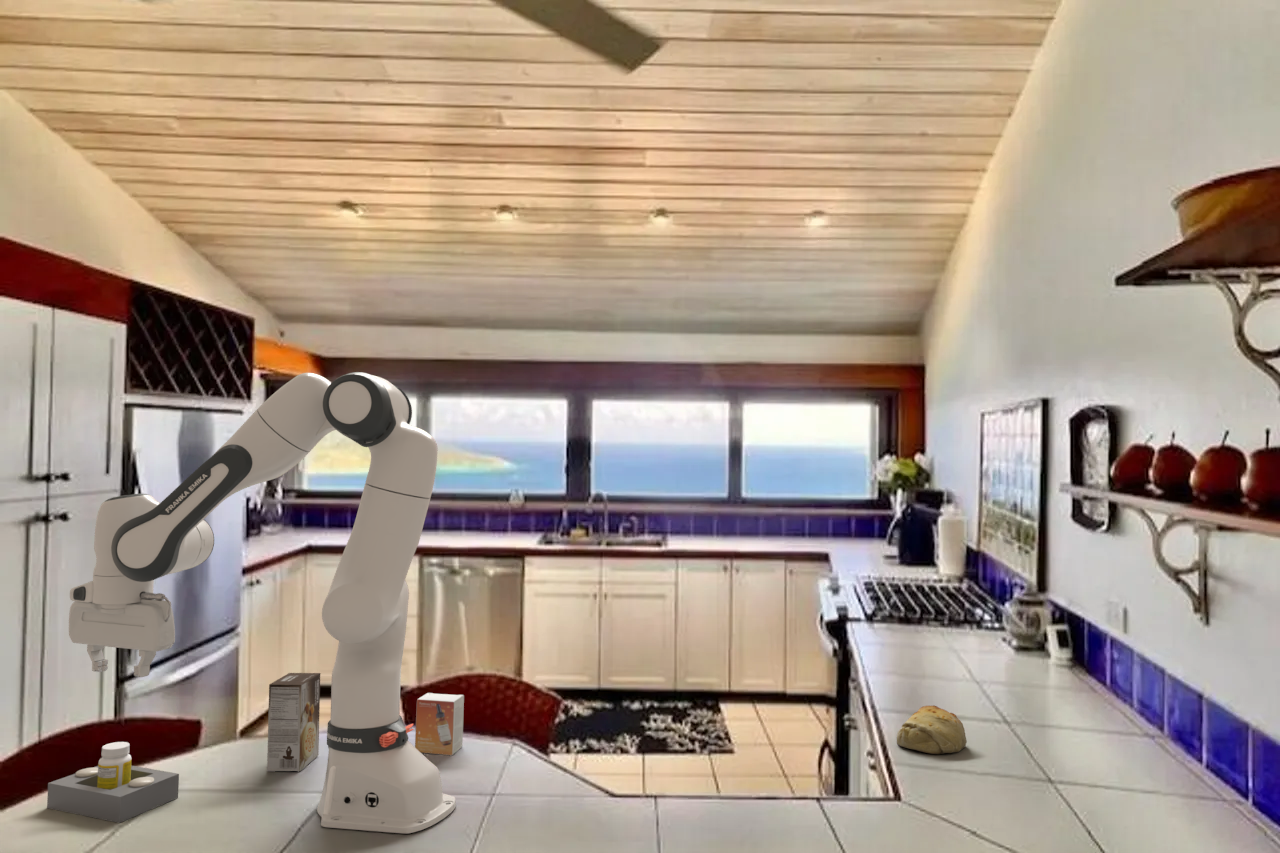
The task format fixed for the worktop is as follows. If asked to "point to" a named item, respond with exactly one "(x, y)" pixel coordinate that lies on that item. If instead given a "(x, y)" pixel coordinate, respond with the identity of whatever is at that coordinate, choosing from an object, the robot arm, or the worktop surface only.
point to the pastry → (932, 731)
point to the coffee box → (293, 721)
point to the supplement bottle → (114, 766)
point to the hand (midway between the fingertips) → (120, 673)
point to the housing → (112, 794)
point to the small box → (439, 723)
